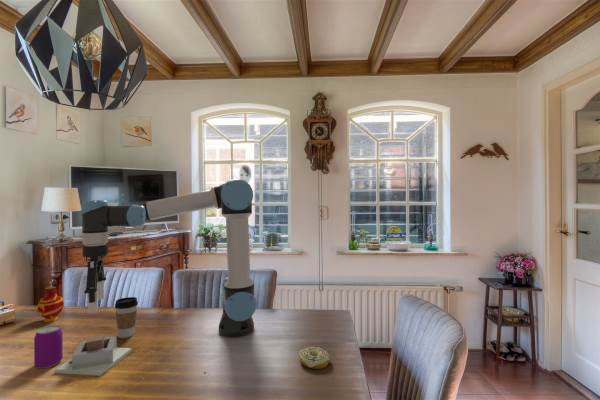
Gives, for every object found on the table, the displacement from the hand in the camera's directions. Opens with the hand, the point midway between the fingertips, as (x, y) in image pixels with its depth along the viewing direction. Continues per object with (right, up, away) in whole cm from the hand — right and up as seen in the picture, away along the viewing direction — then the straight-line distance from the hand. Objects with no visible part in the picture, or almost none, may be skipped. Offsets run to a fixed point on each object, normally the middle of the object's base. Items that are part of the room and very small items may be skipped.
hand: (96, 305), depth 110 cm
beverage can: (-16, -20, -1) cm, 25 cm away
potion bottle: (-45, -19, +37) cm, 61 cm away
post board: (0, -20, 0) cm, 20 cm away
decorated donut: (+76, -21, +1) cm, 79 cm away
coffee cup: (-1, -20, +21) cm, 29 cm away
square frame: (0, -19, 0) cm, 19 cm away
